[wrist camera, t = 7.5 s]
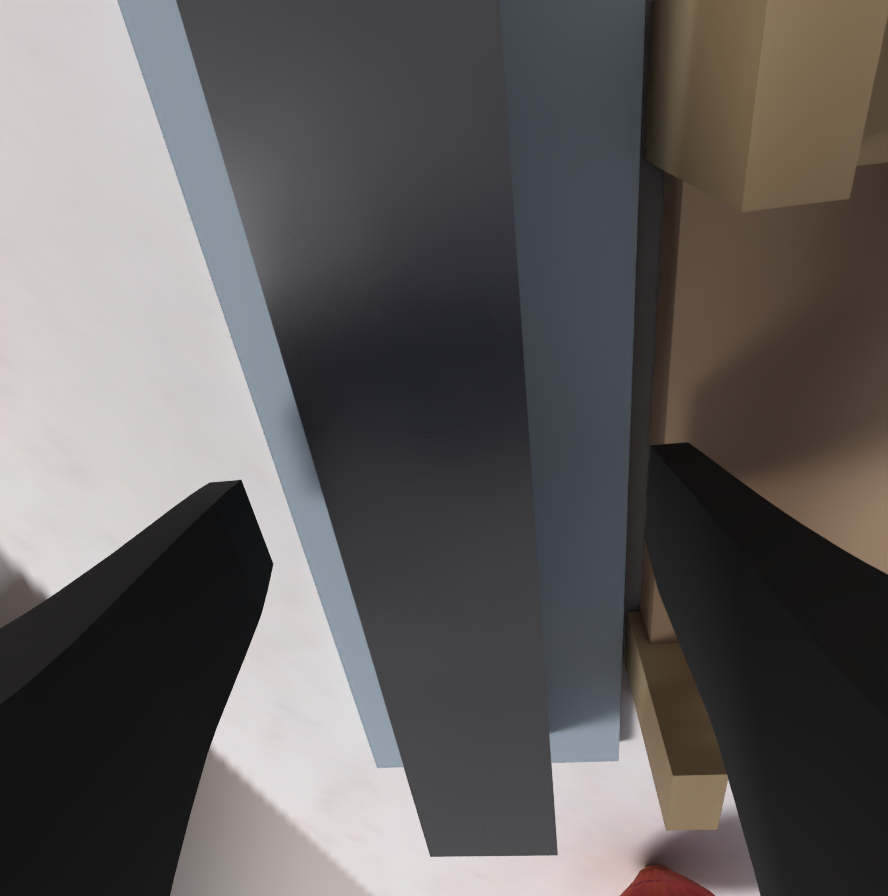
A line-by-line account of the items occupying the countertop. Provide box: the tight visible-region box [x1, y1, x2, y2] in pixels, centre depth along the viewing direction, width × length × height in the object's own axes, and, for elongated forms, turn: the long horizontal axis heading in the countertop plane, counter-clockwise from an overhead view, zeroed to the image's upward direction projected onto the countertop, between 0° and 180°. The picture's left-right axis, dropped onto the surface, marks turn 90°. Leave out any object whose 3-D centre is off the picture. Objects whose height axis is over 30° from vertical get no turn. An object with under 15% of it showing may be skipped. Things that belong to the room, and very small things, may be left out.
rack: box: [625, 0, 888, 831], centre depth 9 cm, size 6×17×6 cm, turn 8°
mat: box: [117, 0, 645, 768], centre depth 12 cm, size 7×21×1 cm, turn 7°
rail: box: [176, 0, 558, 857], centre depth 11 cm, size 3×18×3 cm, turn 8°
